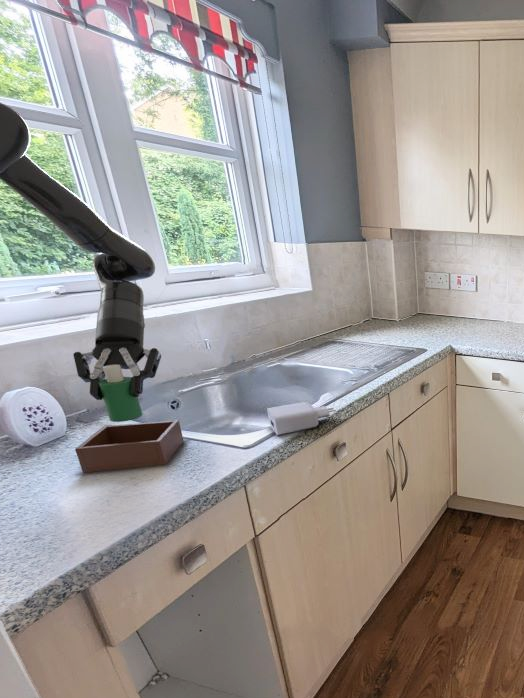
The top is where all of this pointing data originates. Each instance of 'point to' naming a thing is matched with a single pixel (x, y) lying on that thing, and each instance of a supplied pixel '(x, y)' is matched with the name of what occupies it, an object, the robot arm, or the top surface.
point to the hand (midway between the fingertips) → (116, 396)
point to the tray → (130, 446)
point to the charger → (295, 417)
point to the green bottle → (119, 395)
